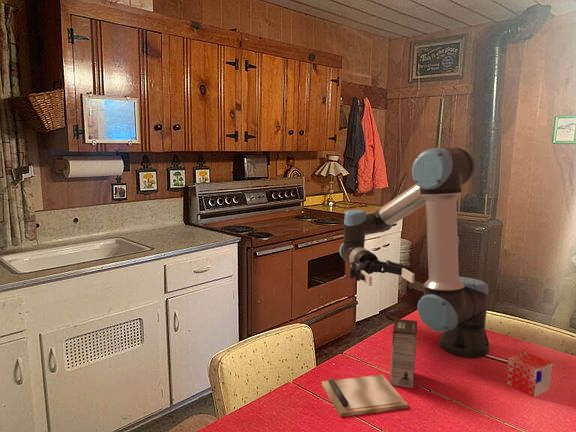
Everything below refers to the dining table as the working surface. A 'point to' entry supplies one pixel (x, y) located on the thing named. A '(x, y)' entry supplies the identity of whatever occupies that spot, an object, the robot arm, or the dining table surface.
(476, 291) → the robot arm
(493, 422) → the dining table surface
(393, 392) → the writing board
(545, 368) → the red patterned cube
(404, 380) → the coffee box
